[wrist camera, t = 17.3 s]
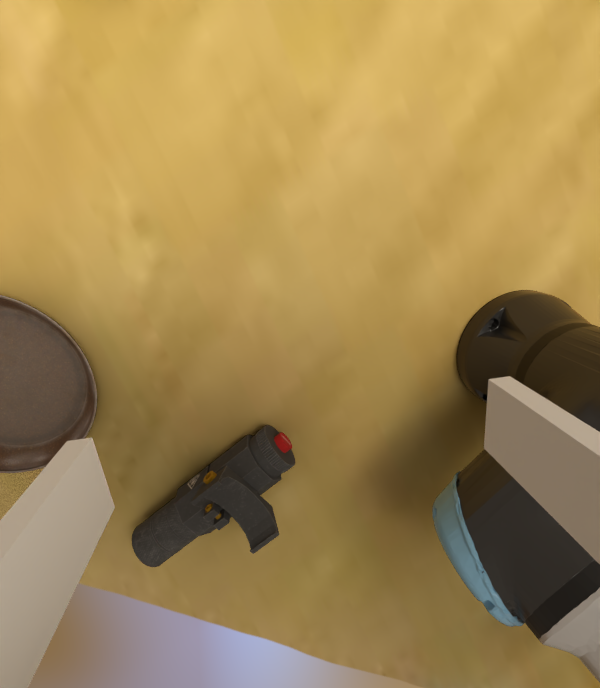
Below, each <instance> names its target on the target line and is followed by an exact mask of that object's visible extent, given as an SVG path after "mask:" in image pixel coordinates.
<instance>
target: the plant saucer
mask: <svg viewBox="0 0 600 688" xmlns="http://www.w3.org/2000/svg"><path fill="white" fill-rule="evenodd" d="M96 408H97V390H96V384H95V379H94V376H93V373H92V370H91V367H90V365H89V363H88V361H87V359H86V357H85V355H84V353H83V352H82V350H81V348H80V347H79V346H78V344H77V343H76V342H75V340H74V339H73V338H72V337H71V336H70V335H69V333H67V332H66V331H65V330H64V329H63V328H62V327H61V326H60V325H59V324H57V323H56V322H55V321H54V320H52V319H51V318H50V317H48V316H47V315H45V314H43V313H42V312H40V311H38V310H37V309H35V308H33V307H31V306H29V305H27V304H25V303H22V302H20V301H17V300H15V299H12V298H9V297H6V296H2V295H0V473H18V472H26V471H32V470H36V469H40V468H44V467H46V466H47V464H48V463H49V462H50V461H51V460H52V458H53V457H54V456H55V455H56V454H57V452H58V451H59V450H60V449H61V448H62V446H63V445H64V444H65V443H66V442H67V441H71V440H78V439H84V438H85V437H86V435H87V434H88V432H89V430H90V429H91V426H92V424H93V421H94V418H95V414H96Z"/></svg>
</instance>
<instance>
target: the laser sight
mask: <svg viewBox="0 0 600 688" xmlns="http://www.w3.org/2000/svg"><path fill="white" fill-rule="evenodd" d="M291 448H292V444H291V442H290V440H289V439H288V438H287V436H286V435H285V434H284V433H282V432H281V433H279V432H278V431H277V430H276V429H274V428H273V427H271V426H269V425H266V426H265V427H263V428H262V429H261V430H259V431H258V432H257V434H256V435H254V436H252V435H247V436H246V437H244V438H243V439H242V440H240V441H239V442H238V443H237V444H235V445H234V446H233V447H231V448H230V449H229V450H228V451H226V452H225V453H224V454H223V455H221V456H220V457H219V458H217V459H216V460H215V461H214V462H212V463H211V464H210V465H208V466H207V467H206V468H205V469H203V470H202V471H201V472H199V473H198V474H197V475H196V476H194V477H193V478H192V479H190V480H189V481H188V482H187V483H185V484H184V485H183V486H181V487H180V488H179V489H178V492H177V495H176V497H175V498H174V499H172V500H171V501H170V502H168V503H167V504H166V505H165V506H163V507H162V508H161V509H159V510H158V511H157V512H155V513H154V514H153V515H152V516H151V517H149V518H148V519H146V520H145V521H144V522H143V523H141V524H140V525H139V526H137V527H136V528H135V530H134V532H133V534H132V546H133V549H134V552H135V554H136V556H137V557H138V559H139V560H140V561H141V562H142V563H144V564H145V565H147V566H150V567H157V566H160V565H161V564H162V563H163V562H165V561H166V560H167V559H169V558H170V557H171V556H173V555H174V554H175V553H177V552H178V551H180V550H181V549H182V548H183V547H185V546H186V545H187V544H189V543H190V542H191V541H193V540H194V539H195V538H197V537H198V536H200V535H204V534H207V533H211V532H212V531H213V530H215V529H216V528H217V529H218V530H220V529H221V528H223V527H224V526H225V525H227V524H228V523H229V520H230V518H231V517H233V518H234V519H235V520H236V521H237V522H238V524H239V525H240V526H241V528H242V529H243V531H244V532H245V534H246V536H247V539H248V541H249V544H250V548H251V550H250V552H251V553H253V554H254V553H255V552H257V551H258V550H259V549H261V548H262V547H263V546H265V545H266V544H267V543H269V542H270V541H272V540H273V539H274V538H276V537H277V536H278V535H279V531H278V528H277V524H276V520H275V516H274V512H273V508H272V506H271V505H270V504H269V503H268V502H267V501H265V500H264V499H263V498H262V497H261V496H260V495H261V494H262V493H264V492H265V491H266V490H268V489H269V488H270V487H272V486H273V485H274V484H276V483H277V482H278V481H280V480H281V474H282V473H284V472H286V471H287V470H289V469H290V468H291V467H293V466H294V465H295V458H294V455H293V452H292V450H291Z"/></svg>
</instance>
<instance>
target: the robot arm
mask: <svg viewBox="0 0 600 688" xmlns="http://www.w3.org/2000/svg"><path fill="white" fill-rule="evenodd" d="M457 365H458V370H459V374H460V377H461V379H462V381H463V383H464V384H465V386H466V387H467V388H468V389H469V390H470V391H471V392H472V393H473V394H475V395H476V396H477V397H478V398H480V399H481V400H482V401H484V402H485V403H487V409H486V424H485V439H484V450H483V451H482V452H481V453H480V454H479V455H478V456H477V457H476V458H475V459H474V460H473V461H472V462H471V463H470V464H469V465H468V466H467V467H465V468H464V469H463V470H462V471H461V472H460V471H459V472H458V473H456V474H455V475H454V477H453V480H452V481H451V482H450V483H449V485H448V486H447V487H446V488H445V489H444V490H443V491H442V492H441V493H440V494H439V495H438V497H437V498H436V500H435V502H434V504H433V520H434V526H435V529H436V532H437V535H438V537H439V540H440V542H441V544H442V546H443V548H444V550H445V552H446V554H447V556H448V558H449V559H450V561H451V563H452V565H453V566H454V568H455V569H456V571H457V573H458V574H459V576H460V577H461V579H462V580H463V581H464V583H465V584H466V586H467V587H468V588H469V590H470V591H471V592H472V594H473V595H474V596H475V597H476V598H477V600H478V601H482V603H483V604H484V606H485V607H486V609H487V611H488V612H489V613H490V614H491V615H492V616H493V617H494V618H496V619H497V620H498V621H499V622H501V623H503V624H505V625H507V626H511V627H512V626H522V625H523V624H524V623H526V624H527V626H528V627H529V628H530V629H531V631H532V632H533V633H534V634H535V636H536V637H537V638H538V639H539V641H540V642H541V643H542V644H544V645H547V646H550V647H554V648H557V649H560V650H564V651H567V652H570V653H571V654H573V655H575V656H577V657H578V658H579V659H580V660H581V661H582V662H583V663H584V665H585V666H586V667H587V668H588V669H589V670H590V672H591V673H592V674H593V675H594V676H595V678H596V679H597V680H598V681H599V682H600V327H598V326H595V325H592V324H590V323H589V322H588V321H587V320H585V319H584V318H583V317H582V316H581V315H579V314H578V313H577V312H576V311H574V310H573V309H572V308H571V307H570V306H569V305H568V304H567V303H566V302H564V301H563V300H561V299H559V298H557V297H555V296H552V295H548V294H545V293H541V292H537V291H531V290H521V291H514V292H510V293H507V294H504V295H502V296H500V297H498V298H496V299H494V300H492V301H491V302H489V303H488V304H486V305H485V306H484V307H483V308H482V309H481V310H479V311H478V312H477V314H476V315H475V316H474V317H473V318H472V319H471V321H470V322H469V324H468V325H467V327H466V329H465V330H464V332H463V335H462V337H461V340H460V343H459V347H458V353H457ZM114 508H115V506H114V503H113V500H112V497H111V494H110V491H109V488H108V485H107V481H106V478H105V475H104V472H103V469H102V466H101V463H100V460H99V457H98V454H97V451H96V448H95V445H94V442H93V439H92V437H91V438H85V439H78V440H71V441H67V442H66V443H65V444H64V445H63V446H62V448H61V449H60V450H59V451H58V452H57V454H56V455H55V456H54V457H53V458H52V460H51V461H50V462H49V463H48V464H47V466H46V467H45V468H44V469H43V470H42V471H41V473H40V474H39V475H38V476H37V477H36V479H35V480H34V481H33V482H32V483H31V485H30V486H29V487H28V488H27V489H26V491H25V492H24V493H23V494H22V495H21V497H20V498H19V499H18V500H17V501H16V502H15V504H14V505H13V506H12V507H11V508H10V510H9V511H8V512H7V513H6V514H5V516H4V517H3V518H2V519H1V520H0V688H28V687H29V685H30V683H31V680H32V678H33V676H34V674H35V672H36V670H37V668H38V666H39V664H40V662H41V660H42V658H43V656H44V654H45V652H46V649H47V647H48V645H49V643H50V641H51V639H52V637H53V635H54V633H55V630H56V628H57V626H58V624H59V622H60V620H61V618H62V616H63V614H64V612H65V610H66V608H67V606H68V604H69V602H70V600H71V598H72V595H73V593H74V591H75V589H76V587H77V585H78V583H79V581H80V579H81V577H82V575H83V573H84V571H85V568H86V566H87V564H88V562H89V560H90V558H91V556H92V554H93V552H94V550H95V548H96V546H97V544H98V541H99V539H100V537H101V535H102V533H103V531H104V529H105V527H106V525H107V523H108V521H109V519H110V517H111V515H112V512H113V510H114Z"/></svg>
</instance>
